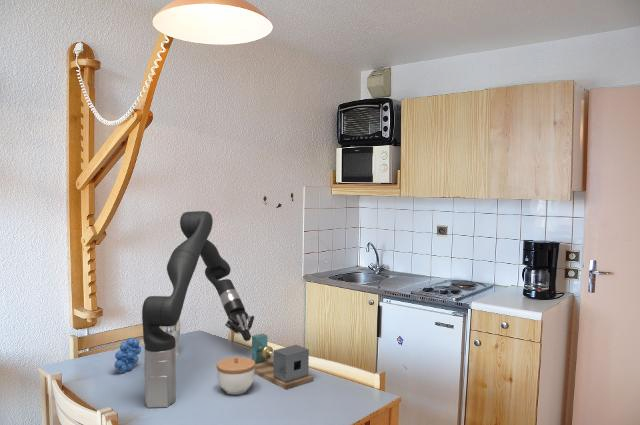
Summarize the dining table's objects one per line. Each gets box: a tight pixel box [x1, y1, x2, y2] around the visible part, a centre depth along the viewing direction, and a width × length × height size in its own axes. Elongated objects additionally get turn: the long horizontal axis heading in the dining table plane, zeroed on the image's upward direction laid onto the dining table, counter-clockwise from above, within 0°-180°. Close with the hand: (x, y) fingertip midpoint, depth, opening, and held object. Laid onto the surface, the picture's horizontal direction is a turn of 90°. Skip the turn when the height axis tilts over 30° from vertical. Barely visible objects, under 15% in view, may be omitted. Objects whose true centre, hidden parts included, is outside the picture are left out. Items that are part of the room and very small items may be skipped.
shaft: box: [251, 333, 274, 363], centre depth 181 cm, size 19×5×10 cm, turn 41°
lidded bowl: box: [216, 356, 256, 396], centre depth 164 cm, size 13×13×11 cm
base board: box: [254, 357, 314, 390], centre depth 179 cm, size 26×12×2 cm, turn 41°
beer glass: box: [161, 318, 181, 357], centre depth 198 cm, size 7×7×15 cm
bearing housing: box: [273, 344, 310, 383], centre depth 173 cm, size 7×10×10 cm
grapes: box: [114, 337, 142, 374], centre depth 181 cm, size 12×7×12 cm, turn 154°
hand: (248, 339), depth 193 cm, fingers closed
